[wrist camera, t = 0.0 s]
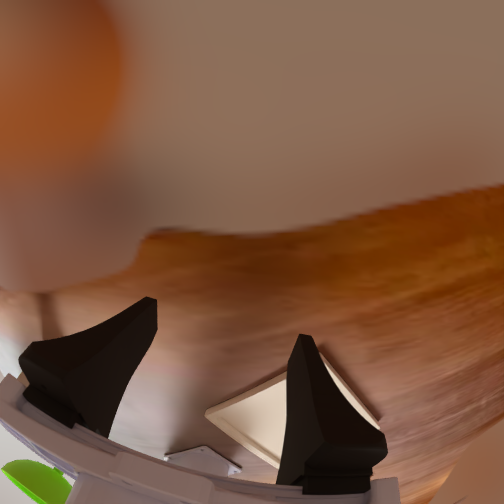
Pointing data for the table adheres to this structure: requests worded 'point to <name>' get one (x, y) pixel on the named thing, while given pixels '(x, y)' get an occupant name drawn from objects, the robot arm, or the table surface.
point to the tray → (269, 415)
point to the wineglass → (38, 481)
